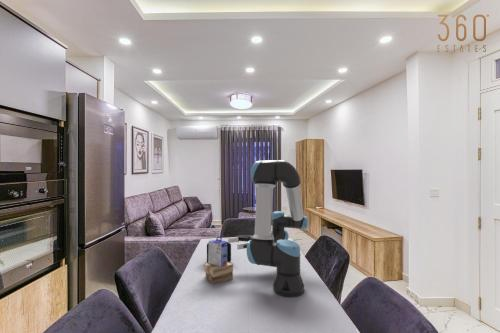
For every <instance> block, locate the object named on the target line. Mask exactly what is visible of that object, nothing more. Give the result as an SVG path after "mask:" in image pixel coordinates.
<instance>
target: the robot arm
mask: <svg viewBox="0 0 500 333" xmlns="http://www.w3.org/2000/svg"><path fill="white" fill-rule="evenodd" d="M250 179H251V181H252V182H254V183H253V184H254V185H253V186H255V187H256V198H255V203H256V204H255V220H254V233H253V235H251V234H250V235H237V236H235V237H228V238H227V242H228V243H230V244H232V243H238V244H237V246H236V247H237V250H243V249H244V250H245V249H246V257H247V260H248V261H249V262H250V263H251V264H253V265H257V266H263V267H264V266H265V267H273V268H276V273H275V278H274V280H273V284H272V285H273V286H272V289H273V291H274V293H276V294H277V295H278V296H281V297H289V298H292V297H293V298H294V297H299V296H301V295H303V294H304V292H305V284H304V282H303V278H302V276H301V255H302V254H301V246H300V245H299V244H298V243H297V242H295V241H293V240H290V239H289V232H288V231H287V230H286V229H285V228H288V229H297V230H307V229H308V227H309V217H308V216H305V215H304V209H303V208H304V207H303V201H302V195H301V194H302V193H301V189H300V185H301V183H302V182H301V177H300V174H299V171H297V169H296V167H294V165H293V164H292V163H290V162H289V161H287V160H283V159H277V160H276V159H273V160H272V159H271V160H270V159H267V160H266V159H263V160H256V161H255V162H254V163H252V167H251V170H250ZM277 183H282V186H283V187H284V188H285V192H286V193H285V194H286V198H287V202H288V208H289V212H290V215H289V214H288V215H287V214H285V212H284V211H281V210H276V211H273V199H274V198H273V193H274V188H275V187H276V186H277ZM239 242H243V243H239ZM244 242H245V243H244Z"/></svg>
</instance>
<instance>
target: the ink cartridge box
mask: <svg viewBox="0 0 500 333" xmlns="http://www.w3.org/2000/svg"><path fill="white" fill-rule="evenodd" d="M221 240H222V241H221ZM225 241H226V240H223V237H222V236H218V235H217V237H216V239H212V240H209V241H208V243H209V252H208V262H207V263H210V264H213V265H217V266H220V267H221V266H224V265H227V243H228V241H226V242H225Z"/></svg>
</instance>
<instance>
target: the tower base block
mask: <svg viewBox="0 0 500 333" xmlns="http://www.w3.org/2000/svg"><path fill="white" fill-rule="evenodd" d="M233 274H234V271H233V272H230V273H227V274H223V275H220V276H217V277H212V276H211V275H209V274H208V273H206V272H205V278H206V279H207V280H208V281H209V283H210V284H211V285H212V284H216V283H217V284H218V283H221V282H225V281H229V280H233V278H234V275H233Z"/></svg>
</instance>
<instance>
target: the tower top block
mask: <svg viewBox="0 0 500 333" xmlns="http://www.w3.org/2000/svg"><path fill="white" fill-rule="evenodd" d="M204 272H205V274H206V273H208V274H209V275H211V276H212V277H217V276H220V275H223V274H227V273H230V272H233V273H234V264H233V263H231V262H228V261H227V265H224V266H221V267H220V266H217V265H213V264H210V263H208V262H207V263H204Z"/></svg>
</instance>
